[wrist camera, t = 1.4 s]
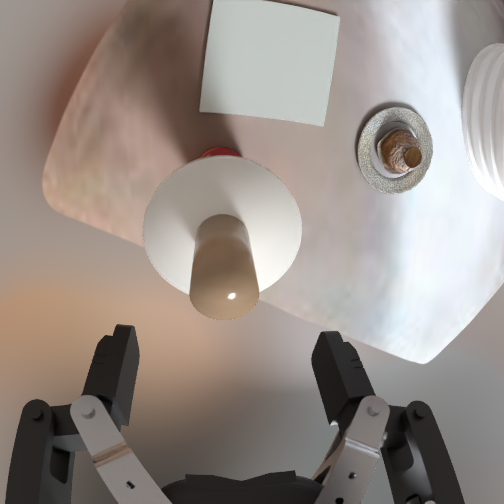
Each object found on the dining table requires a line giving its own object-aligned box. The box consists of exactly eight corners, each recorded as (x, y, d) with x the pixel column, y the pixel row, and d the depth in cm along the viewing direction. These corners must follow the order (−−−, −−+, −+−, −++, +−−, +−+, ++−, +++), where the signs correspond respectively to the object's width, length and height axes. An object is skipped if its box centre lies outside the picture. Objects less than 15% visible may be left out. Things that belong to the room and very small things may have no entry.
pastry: (433, 174, 37) (452, 186, 33) (366, 203, 38) (382, 218, 35) (417, 96, 31) (438, 100, 27) (342, 121, 32) (358, 127, 28)
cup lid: (144, 151, 18) (108, 187, 12) (311, 164, 19) (352, 204, 13) (150, 288, 23) (133, 355, 17) (283, 294, 25) (302, 360, 19)
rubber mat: (214, -3, 23) (214, -5, 22) (338, 18, 25) (340, 17, 24) (199, 111, 30) (199, 111, 29) (321, 125, 32) (323, 126, 32)
